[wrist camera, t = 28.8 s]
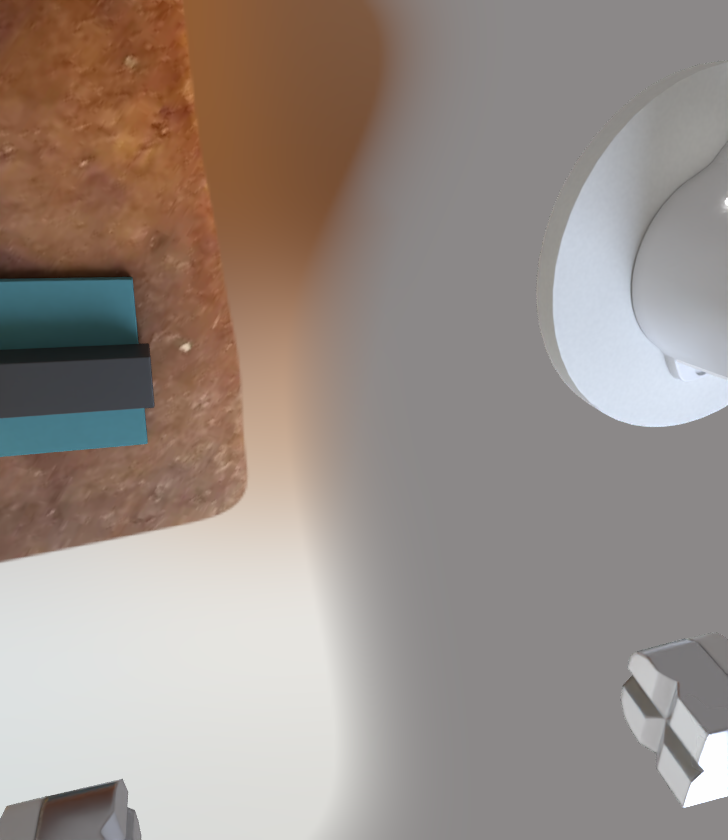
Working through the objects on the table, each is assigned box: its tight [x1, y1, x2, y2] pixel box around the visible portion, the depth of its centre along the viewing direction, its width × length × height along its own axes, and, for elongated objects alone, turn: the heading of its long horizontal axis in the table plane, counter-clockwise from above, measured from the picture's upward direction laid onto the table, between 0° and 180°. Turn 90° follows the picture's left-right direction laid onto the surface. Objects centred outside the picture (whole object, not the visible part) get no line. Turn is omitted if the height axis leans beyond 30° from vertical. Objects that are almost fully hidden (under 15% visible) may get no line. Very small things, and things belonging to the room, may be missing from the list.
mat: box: [0, 277, 148, 457], centre depth 36 cm, size 14×10×1 cm
